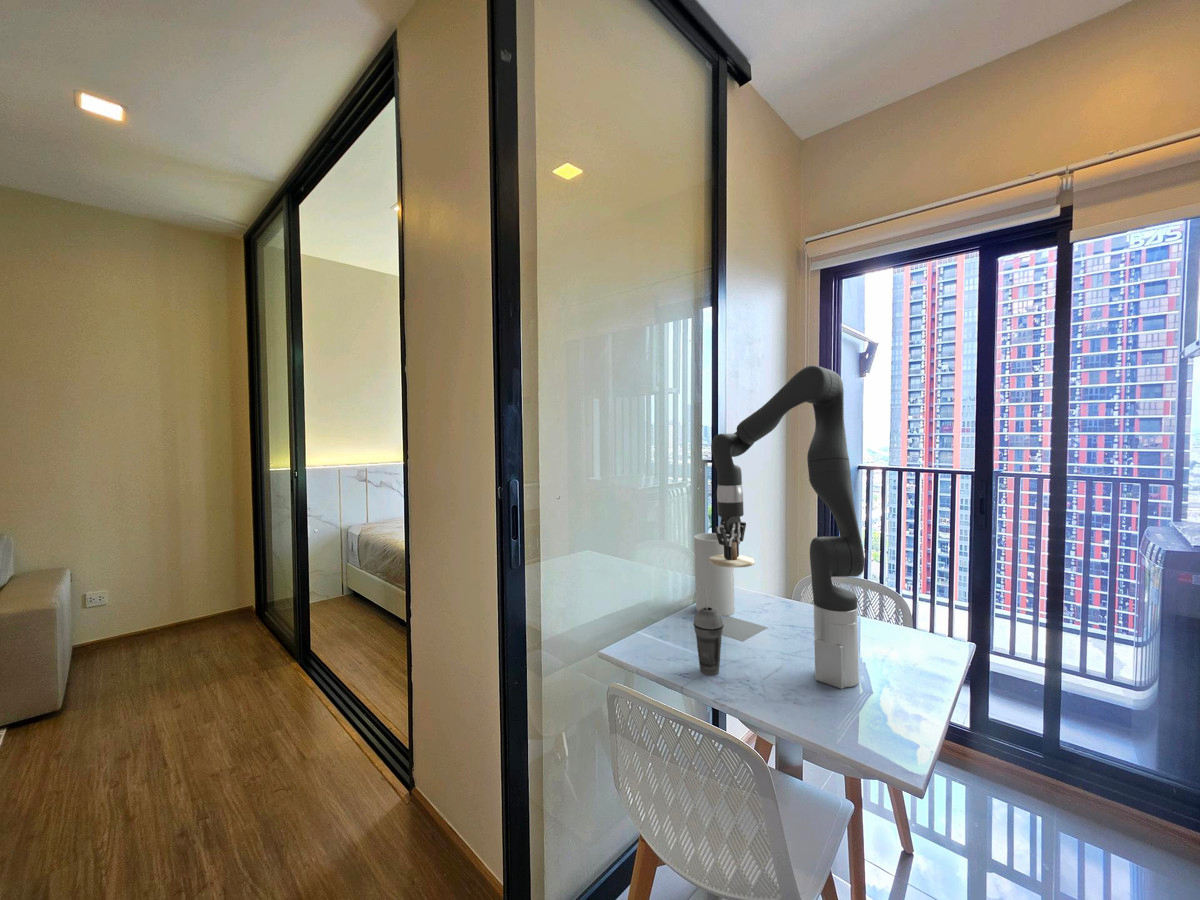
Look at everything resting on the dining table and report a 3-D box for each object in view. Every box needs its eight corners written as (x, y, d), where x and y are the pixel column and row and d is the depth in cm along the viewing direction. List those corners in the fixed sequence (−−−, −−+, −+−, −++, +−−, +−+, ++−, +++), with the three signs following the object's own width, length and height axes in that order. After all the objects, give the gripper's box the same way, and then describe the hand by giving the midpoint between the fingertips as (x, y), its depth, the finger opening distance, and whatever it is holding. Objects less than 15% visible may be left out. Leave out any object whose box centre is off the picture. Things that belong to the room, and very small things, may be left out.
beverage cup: (703, 680, 112) (700, 596, 112) (689, 667, 119) (687, 587, 119) (730, 675, 114) (728, 592, 114) (715, 662, 121) (713, 584, 121)
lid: (739, 569, 133) (738, 548, 133) (700, 562, 142) (700, 542, 142) (762, 561, 142) (762, 541, 142) (724, 555, 151) (724, 536, 151)
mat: (742, 643, 132) (742, 641, 132) (701, 629, 143) (701, 627, 143) (768, 629, 142) (768, 627, 142) (727, 617, 152) (727, 615, 152)
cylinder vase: (711, 602, 167) (709, 531, 166) (742, 611, 157) (740, 536, 157) (688, 611, 159) (686, 536, 159) (719, 621, 149) (717, 542, 149)
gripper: (728, 503, 135) (729, 563, 134) (753, 498, 144) (755, 555, 144) (705, 501, 140) (707, 560, 140) (732, 497, 150) (733, 552, 149)
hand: (731, 557), depth 142 cm, fingers closed on lid, 3 cm apart
